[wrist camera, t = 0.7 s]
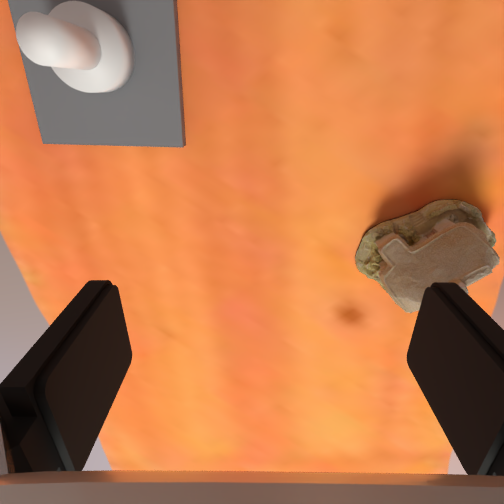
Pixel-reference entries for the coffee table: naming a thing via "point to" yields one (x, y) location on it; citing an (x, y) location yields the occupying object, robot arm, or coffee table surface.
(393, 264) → the ceramic model
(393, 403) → the coffee table surface
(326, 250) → the coffee table surface
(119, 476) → the robot arm
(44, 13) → the post plate
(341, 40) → the coffee table surface
